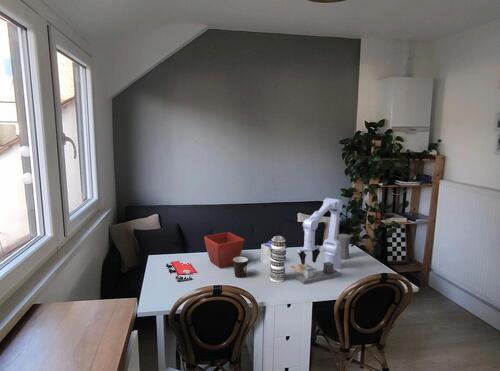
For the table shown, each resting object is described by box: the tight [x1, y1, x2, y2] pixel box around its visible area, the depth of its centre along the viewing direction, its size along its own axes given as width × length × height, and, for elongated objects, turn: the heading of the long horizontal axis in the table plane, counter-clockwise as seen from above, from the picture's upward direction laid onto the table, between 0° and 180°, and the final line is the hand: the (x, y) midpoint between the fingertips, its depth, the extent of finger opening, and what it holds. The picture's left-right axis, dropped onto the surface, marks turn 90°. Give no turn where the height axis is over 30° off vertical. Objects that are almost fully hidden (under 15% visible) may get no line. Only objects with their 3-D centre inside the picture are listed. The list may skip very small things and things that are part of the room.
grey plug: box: [302, 264, 315, 279], centre depth 194 cm, size 4×4×8 cm
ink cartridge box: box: [260, 240, 272, 267], centre depth 218 cm, size 10×6×14 cm, turn 38°
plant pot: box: [204, 232, 245, 269], centre depth 217 cm, size 19×19×17 cm
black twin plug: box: [322, 261, 334, 275], centre depth 200 cm, size 4×4×8 cm
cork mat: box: [290, 262, 317, 274], centre depth 211 cm, size 12×12×1 cm
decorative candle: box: [269, 235, 287, 283], centre depth 194 cm, size 9×9×25 cm
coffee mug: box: [233, 256, 250, 279], centre depth 200 cm, size 12×9×10 cm
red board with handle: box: [165, 260, 198, 282], centre depth 206 cm, size 30×3×15 cm
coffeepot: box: [337, 230, 358, 260], centre depth 231 cm, size 15×9×18 cm, turn 94°
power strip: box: [295, 269, 342, 285], centre depth 197 cm, size 26×8×3 cm, turn 116°
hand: (308, 263), depth 194 cm, fingers open, 7 cm apart
